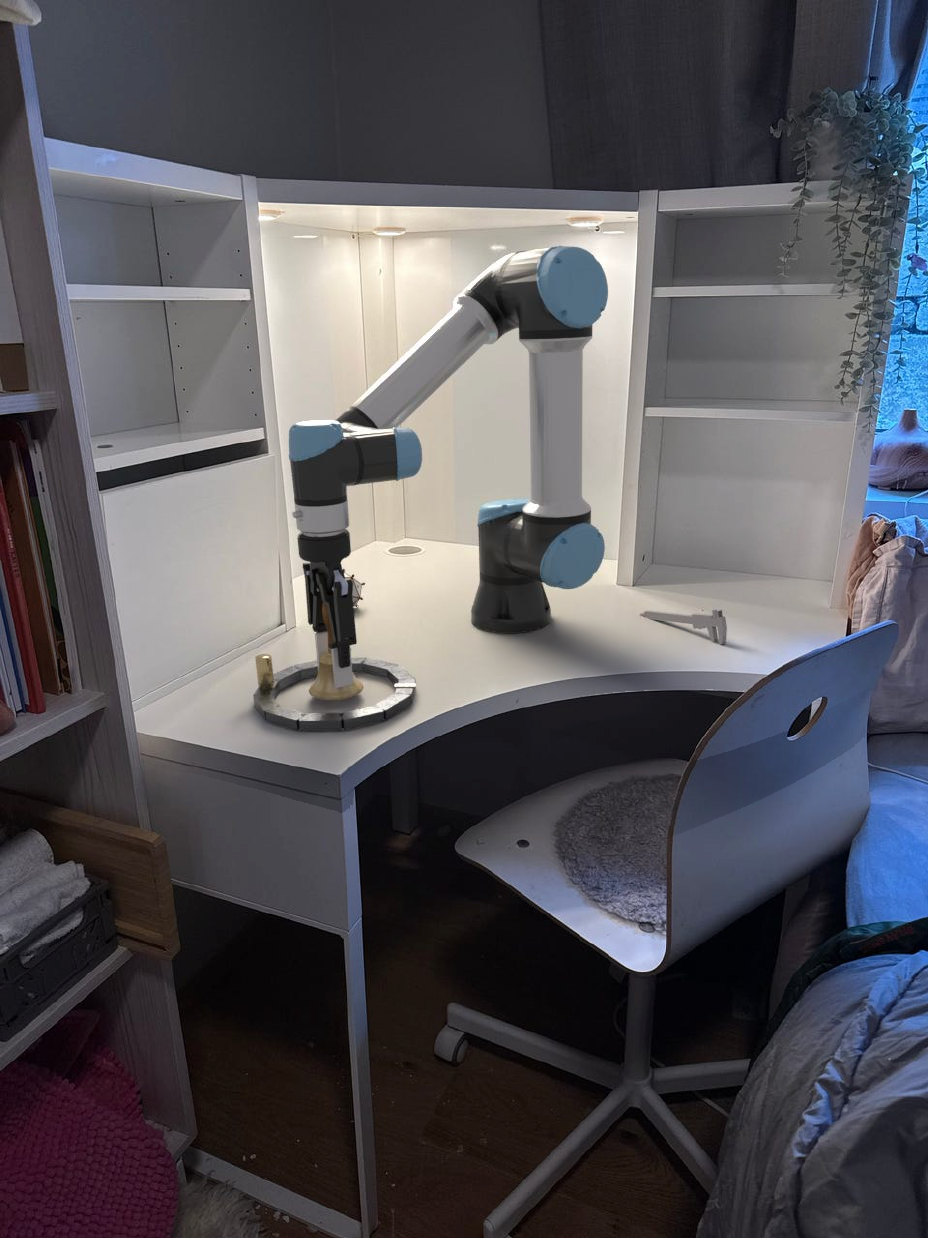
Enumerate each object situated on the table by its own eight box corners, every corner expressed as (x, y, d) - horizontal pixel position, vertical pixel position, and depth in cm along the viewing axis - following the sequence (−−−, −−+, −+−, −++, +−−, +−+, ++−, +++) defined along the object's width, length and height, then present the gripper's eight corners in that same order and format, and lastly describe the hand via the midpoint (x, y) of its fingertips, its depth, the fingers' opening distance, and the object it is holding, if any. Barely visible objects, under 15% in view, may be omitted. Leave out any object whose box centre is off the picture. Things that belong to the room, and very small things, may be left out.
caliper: (725, 645, 154) (728, 611, 152) (721, 647, 153) (724, 613, 151) (643, 615, 170) (644, 584, 168) (639, 616, 170) (640, 585, 168)
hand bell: (365, 678, 140) (358, 581, 135) (361, 700, 132) (353, 598, 127) (312, 680, 140) (303, 583, 135) (305, 702, 132) (295, 600, 127)
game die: (355, 628, 178) (378, 594, 173) (317, 621, 173) (338, 586, 168) (347, 596, 184) (368, 562, 178) (309, 589, 179) (330, 554, 174)
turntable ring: (278, 667, 149) (274, 630, 146) (423, 666, 147) (421, 628, 145) (237, 731, 126) (232, 688, 124) (407, 730, 125) (405, 687, 122)
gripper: (276, 522, 134) (290, 664, 142) (323, 547, 119) (336, 705, 126) (323, 515, 138) (334, 654, 145) (374, 539, 122) (384, 693, 130)
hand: (335, 678), depth 136 cm, fingers closed on hand bell, 6 cm apart
